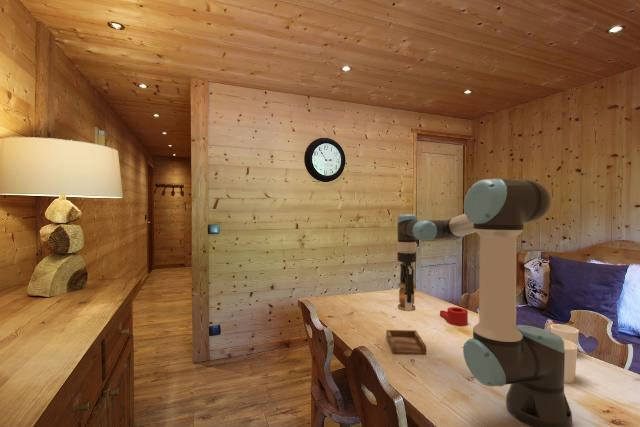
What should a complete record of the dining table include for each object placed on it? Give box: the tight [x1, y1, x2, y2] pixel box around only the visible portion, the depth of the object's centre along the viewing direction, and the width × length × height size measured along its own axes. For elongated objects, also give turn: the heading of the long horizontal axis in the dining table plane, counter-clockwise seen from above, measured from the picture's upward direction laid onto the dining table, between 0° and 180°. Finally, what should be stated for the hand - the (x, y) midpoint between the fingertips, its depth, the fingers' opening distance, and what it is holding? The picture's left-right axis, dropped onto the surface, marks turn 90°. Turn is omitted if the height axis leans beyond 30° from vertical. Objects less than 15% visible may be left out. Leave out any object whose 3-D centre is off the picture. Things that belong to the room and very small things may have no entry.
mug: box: [549, 323, 580, 347], centre depth 127 cm, size 11×9×10 cm
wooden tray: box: [385, 329, 427, 356], centre depth 134 cm, size 16×13×4 cm
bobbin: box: [397, 282, 417, 312], centre depth 132 cm, size 7×7×10 cm
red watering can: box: [439, 306, 469, 327], centre depth 165 cm, size 18×9×7 cm, turn 14°
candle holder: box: [562, 339, 579, 384], centre depth 109 cm, size 10×10×12 cm
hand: (406, 307), depth 132 cm, fingers closed on bobbin, 7 cm apart
